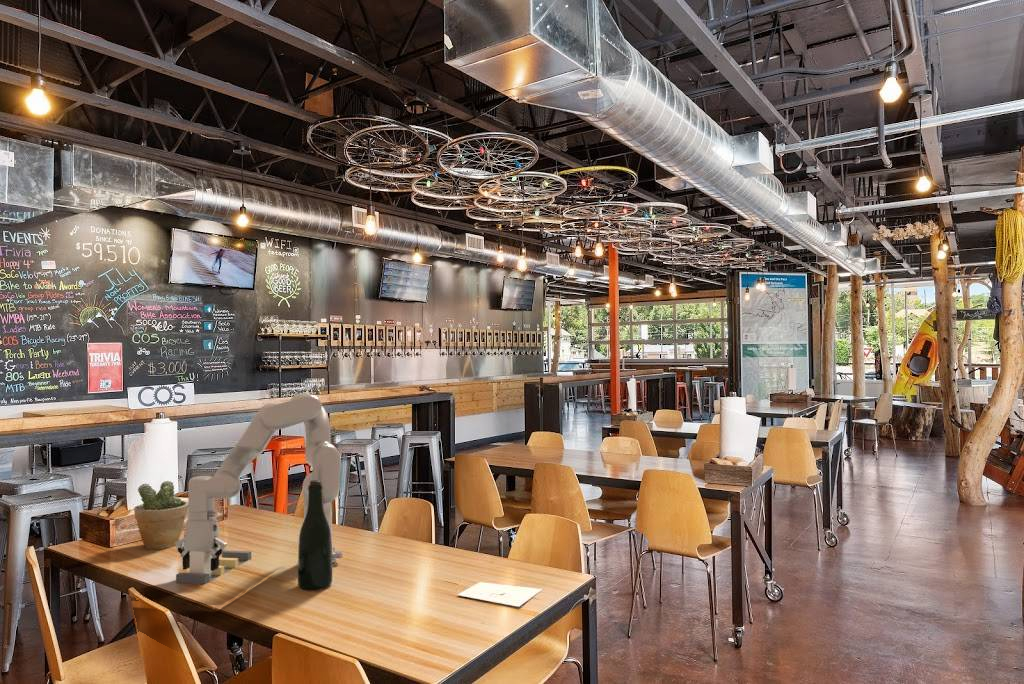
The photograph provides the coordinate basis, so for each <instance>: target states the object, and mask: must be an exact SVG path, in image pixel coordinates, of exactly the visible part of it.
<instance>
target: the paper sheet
mask: <svg viewBox="0 0 1024 684" xmlns="http://www.w3.org/2000/svg"><path fill="white" fill-rule="evenodd" d="M541 591H543V589H542V588H534V587H529V586H528V587H527V586H526V587H525V586H517V585H510V584H508V585H507V584H498V583H490V582H481V581H479V582H477V583H476V584H473V585H472V586H471V587H469V588H467V589H465V590H463V591H461V592H460V593H457V594H456V596H461V597H467V598H471V599H476V600H481V601H486V602H487V601H488V602H491V603H497V604H503V605H507V606H508V605H509V606H512V607H521V606H522V605H523V604H525V603H527V601H529V600H530V599H531V598H533V597H534V596H535V595H537V594H538V593H539V592H541Z"/></svg>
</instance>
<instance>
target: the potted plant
mask: <svg viewBox="0 0 1024 684" xmlns="http://www.w3.org/2000/svg"><path fill="white" fill-rule="evenodd" d="M159 488H160V489H159V490H158V492H157V491H156V490H155V489H154V488H152V486H151V485H150V483H142V484H140V485H139V486H138V489H137V491H138V494H139V496H140V498H141V499H140V500H141V502H142V503H141V504H138V505H136V506H135V507H134V508H133V510H134V518H135V520H136V524H137V528H138V532H139V534H140V537H141V541H142V543H143V546H144V548H145V549H147V550H153V551H154V550H163V549H168V548H172V547H175V546H176V544H175V543H176V542H177V541H179V540H180V538H181V534H182V531H183V527H184V522H185V518H186V516H188V515H187V514H188V501H185V500H182V499H181V498H179V497H178V496H175V485H174V482H172V481H171V480H164V481H163V482H161V484H160V487H159Z"/></svg>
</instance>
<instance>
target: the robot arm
mask: <svg viewBox="0 0 1024 684" xmlns="http://www.w3.org/2000/svg"><path fill="white" fill-rule="evenodd" d="M330 422H331V421H330V419H329V415H328V413H327V411H326V409H325V408H324V406H323V404H322V402H321V399H320V398H319V397H318V396H316V395H315V394H311V393H303V392H302V393H301V392H299V393H297V394H294V395H293V396H292V397H291V399H290V400H287V401H284V402H280V403H266V404H264V405H262V406H261V407H260V408H259V409H258V411H257V412H256V414H255V416H254V417H253V419H252V420H251V422H250V423H249V425H248V427H247V428H246V430H245V432H244V433H243V434H242V436H241V437H240V438H239V440H238V442H237V443H236V444H235V445H234V446H233V448H232V449H231V450H230V452H229V453H228V454H227V456H226V457H225V458H224V459H223V461H222V463H221V464H220V466H219V468H218V469H217V470H216V472H215V474H214V475H213V476H211V475H199V476H194V477H191V478H190V479H189V481H188V484H187V485H188V487H187V488H188V492H187V493H188V494H187V495H188V497H187V498H188V499H187V502H188V509H187V514H188V515H187V520H186V522H185V526H184V532H183V538H181V539H179V541H177V542H176V543H175V544H176V545H175V546H176V549H177V552H178V553H179V555H180V557H181V558H182V570H183V571H184V570H187V569H190V551H199V552H209V553H210V555H211V556H212V557H213V558H211V571H214V570H216V569H218V567H219V558H220V556H222V553H223V552H224V551H225V549H226V547H227V545H228V544H227V542H225V541H224V540H222V539H221V538H220V529H219V523H218V520H217V518H216V517H217V516H218V512H217V511H215V499H231V498H234V497H236V496H237V495H238V494H239V493H241V492H240V491H241V489H242V483H241V480H240V479H239V478H240V477H241V475H242V473H243V471H244V470H245V469H246V468H247V466H248V465H249V464H250V463H251V462H252V461H253V460H254V459H256V458H258V457H260V455H262V453H264V451H265V449H266V448H267V446H268V445H269V443H270V441H271V440H272V438H273V436H274V435H275V433H276V432H277V431H279V430H282V429H287V428H289V427H292V426H293V427H294V426H295V425H298V424H302V423H303V425H304V429H305V452H304V453H305V461H306V463H307V464H308V465H309V466H310V467H311V468H312V469H311V470H312V472H310V473H308V474H307V475H306V476H305V478H304V479H303V482H302V497H303V520H304V519H305V516H306V512H307V508H308V486H309V485H310V481H312V480H320V481H321V484H322V486H323V489H322V500H323V509H324V513H325V516H326V518H327V521H328V523H329V526H330V530H331V537H332V538H333V501H334V500H335V499H336V498H337V497H338V496H339V493H340V490H341V455H340V452H339V450H338V449H337V447H336V446H335V445H333V444H332V440H331V438H332V436H331V423H330ZM218 548H219V549H218ZM342 558H343V552H342V550H336V548H335V546H332V564H333V563H335V562H336V561H337V559H342Z"/></svg>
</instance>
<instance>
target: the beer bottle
mask: <svg viewBox="0 0 1024 684" xmlns="http://www.w3.org/2000/svg"><path fill="white" fill-rule="evenodd" d="M322 489H323V486H322V484H321V481H320V480H312V481H310V485H309V486H308V508H307V512H306V516H305V519H304V518H303V522H302V524H301V527H300V530H299V533H298V534H299V535H298V549H297V550H298V551H297V587H298V588H299V589H301V590H302V591H303V590H304V591H309V592H311V591H319V590H323V589H327V588H329V587H330V586H331V585H332V583H333V563H332V547H333V536H332V537H331V530H330V526H329V523H328V521H327V518H326V516H325V513H324V509H323V500H322Z"/></svg>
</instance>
